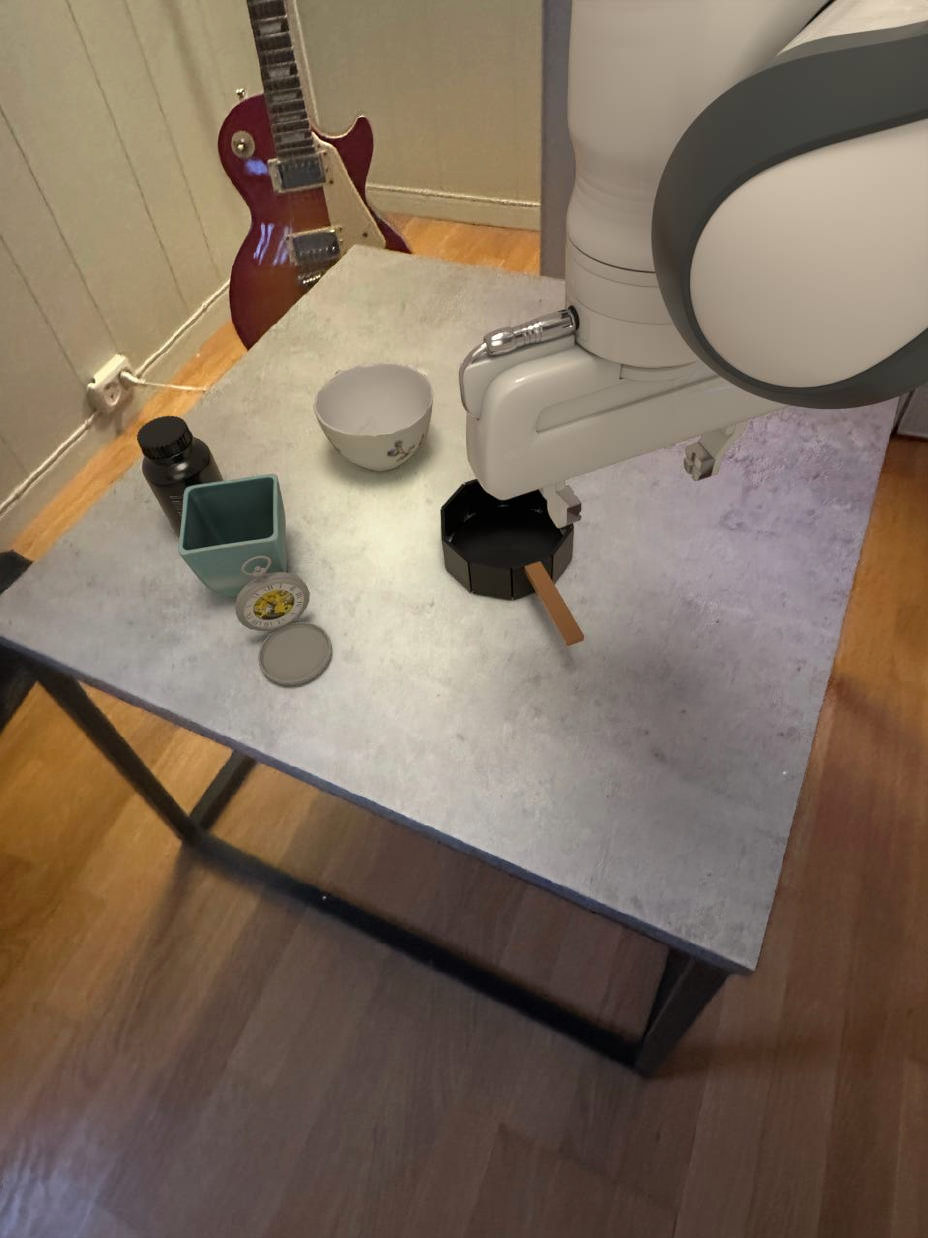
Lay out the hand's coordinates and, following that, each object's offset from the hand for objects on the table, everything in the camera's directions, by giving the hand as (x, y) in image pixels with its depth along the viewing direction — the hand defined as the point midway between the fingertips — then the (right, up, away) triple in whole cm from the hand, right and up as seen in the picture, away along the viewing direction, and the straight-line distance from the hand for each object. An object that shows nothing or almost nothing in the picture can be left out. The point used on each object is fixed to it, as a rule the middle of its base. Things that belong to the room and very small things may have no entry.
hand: (632, 495), depth 47 cm
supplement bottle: (-38, +3, +34) cm, 51 cm away
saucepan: (-5, -4, +25) cm, 26 cm away
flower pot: (-31, -3, +28) cm, 42 cm away
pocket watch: (-26, -10, +23) cm, 36 cm away
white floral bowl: (-20, +11, +38) cm, 45 cm away
